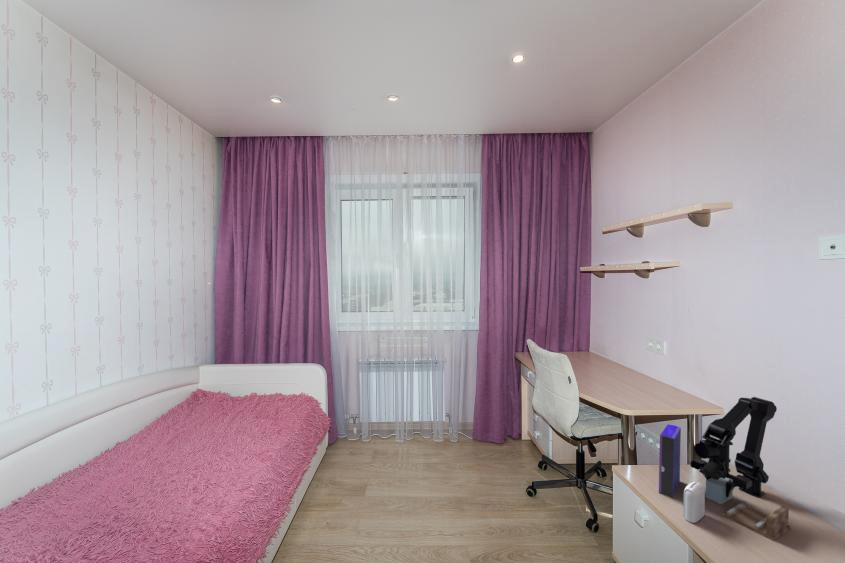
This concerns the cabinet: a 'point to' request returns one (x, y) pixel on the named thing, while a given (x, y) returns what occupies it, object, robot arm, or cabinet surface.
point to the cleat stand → (760, 520)
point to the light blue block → (717, 490)
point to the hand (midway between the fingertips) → (719, 493)
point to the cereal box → (669, 460)
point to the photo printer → (694, 502)
